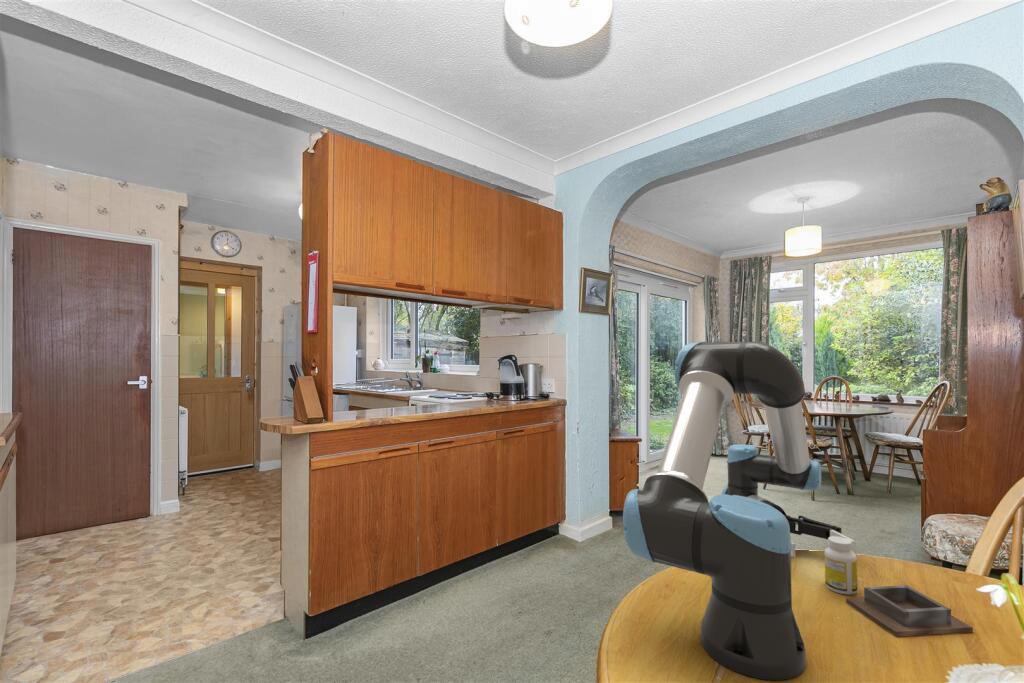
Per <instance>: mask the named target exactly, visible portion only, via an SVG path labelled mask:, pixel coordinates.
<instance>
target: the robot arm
mask: <svg viewBox="0 0 1024 683" xmlns="http://www.w3.org/2000/svg"><path fill="white" fill-rule="evenodd" d="M676 356H677V357H676V359H675V367H674V379H675V380H674V381H675V384H676V386H677V388H678V389H679V391H680V393H681V399H680V402H679V405H678V408H677V411H676V414H675V417H674V420H673V423H672V426H671V430H670V433H669V436H668V439H667V441H666V444H665V447H664V451H663V453H662V457H661V461H660V462H659V465H658V468H657V469H658V470H657V472H656V473H653V474H651V475H649V476H648V477H647V478H645V482H644V484H643V487H642V489H640V488H635V489H631V490H629V492H628V493H627V495H626V497H625V500H624V504H623V514H622V526H623V535H624V539H625V543H626V546H627V547H628V549H629V551H630V552H631V553H632V554H633V555H634V556H635V557H638V558H642V559H645V560H647V561H650V562H651V563H654V564H655V563H657V564H658V563H659V564H663V565H666V566H669V567H673V568H677V569H681V570H685V571H688V572H689V571H690V572H693V573H697V574H699V575H700V574H701V575H705V576H709V577H710V579H711V594H710V597H709V600H708V603H707V607H706V608H705V611H704V615H703V618H702V620H701V625H700V640H701V645H702V647H703V648H704V650H705V651H706V653H707V654H708V655H709V656H710V657H711V658H712V659H714V660H715V661H716V662H718V663H719V664H721V665H722V666H724V667H726V668H728V669H730V670H732V671H735V672H737V673H738V674H741V675H745V676H748V677H752V678H756V679H759V680H761V679H762V680H768V681H769V680H770V681H781V680H782V681H783V680H784V681H785V680H789V679H792V678H793V679H794V678H795V677H797V676H799V675H801V674H802V673H803V672H804V670H805V668H806V662H807V659H806V658H807V656H806V655H807V654H806V646H805V643H804V640H803V636H802V634H801V631H800V628H799V626H798V623H797V621H796V620H797V619H796V618H795V614H794V611H793V605H792V604H793V602H792V601H793V599H792V595H793V594H792V593H793V592H792V557H793V558H795V557H796V543H795V542H793V541H791V534H793V535H798V536H801V535H803V534H804V535H807V536H811V537H816V538H820V539H825V540H828V538H829V537H831V536H837V537H843V538H846V539H849V540H851V542H852V550H851V551H852V552H853V553H854V554H855V555H856V554H857V553H856V552H857V550H856V549H857V547H856V546H857V545H856V542H857V541H856V540H854V539H852V538H850V537H848V536H846V535H844V534H842V532H843V531H842V527H840V526H837V525H833V524H828V523H826V522H822V521H817V520H815V519H810V518H808V517H806V516H803V515H798V518H796V517H792V516H790V515H787V514H786V512H785V510H784V508H782V507H781V506H780V505H777V504H776V503H774V502H772V501H770V500H769V499H766V498H764V497H763V496H760V495H759V494H758V492H759V490H758V489H759V484H765V485H772V486H778V487H783V488H790V489H798V490H801V491H803V490H804V491H813V492H814V491H819V490H820V489H821V486H822V465H821V463H820V462H819V461H816V460H812V459H810V452H809V447H808V446H809V445H808V438H807V432H806V425H805V419H804V412H803V405H802V401H803V400H804V398H805V395H806V389H805V383H804V380H803V377H802V375H801V373H800V371H799V369H798V368H797V367H796V365H795V364H794V363H793V361H792V360H791V359H790V358H788V356H786V355H785V354H784V353H783V352H782V351H780V350H778V349H777V348H775V347H773V346H772V345H769V344H767V343H764V342H760V341H698V342H690V343H687V344H685V345H684V346H682V348H681V349H680V351H679V352H678V354H677V355H676ZM735 394H739V395H740V394H742V395H743V394H744V395H750V394H751V395H756V397H757V399H758V401H759V402H760V403H761V404H762V405H763V406H764V411H765V415H766V419H767V420H766V421H767V424H768V426H767V427H768V429H769V434H770V439H771V442H772V447H773V452H774V455H768V454H767V455H766V454H760V453H759V452H758V448H757V447H756V446H755V445H751V444H750V445H749V444H741V443H740V444H739V443H738V444H737V443H736V444H735V443H734V444H731V445H730V446H728V448H727V461H726V463H727V485H726V486H725V487H724V488H723V490H722V492H721V494H718V495H717V494H716V495H714V496H712V497H711V499H710V501H709V498H708V495H707V493H706V492H705V491H704V490H703V488H704V484H705V481H706V477H707V473H708V469H709V465H710V460H711V457H712V453H713V449H714V446H715V442H716V437H717V433H718V430H719V425H720V421H721V419H722V418H721V417H722V414H723V409H724V407H727V406H728V405H730V404H731V403H732V402H733V399H734V398H735ZM796 526H797V529H796Z"/></svg>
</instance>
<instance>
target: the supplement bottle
mask: <svg viewBox="0 0 1024 683" xmlns="http://www.w3.org/2000/svg"><path fill="white" fill-rule="evenodd" d="M827 544H828V547H826V548H825V549H824V579H825V580H824V581H825V586H826V588H827V589H829V590H830V591H832V592H835V593H837V594H841V595H849V596H850V595H855V594H857V593H858V559H857V558H858V557H857V555H856V554H854V553H853V552H852V551H851V550H852V542H851V540H849V539H846V538H843V537H837V536H831V537H829V538H828V539H827Z"/></svg>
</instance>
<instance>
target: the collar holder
mask: <svg viewBox="0 0 1024 683" xmlns="http://www.w3.org/2000/svg"><path fill="white" fill-rule="evenodd" d="M863 596H864V597H862V596H861V597H847V598H845V603H846V604H848V605H849V606H851V607H852V608H853V609H855V610H856V611H858V612H859V613H861V614H862V615H864V616H865V617H866V618H868V619H869V620H871V621H873V623H876V624H877V625H878V626H879V627H881V628H883V629H884V630H886V631H887V632H889V633H890V634H891V635H893V636H895V637H896V638H897V637H910V636H912V637H913V636H928V635H931V636H932V635H943V634H946V635H947V634H960V633H961V634H962V633H973V632H974V628H973V626H971V625H970V624H968V623H966V622H965V621H963V620H961V619H959V618H957V617H956V616H953V615H952V609H950V607H948V606H946V605H943V604H942V603H940V602H938V601H936V600H934V599H933V598H931V597H929V596H927V595H925V594H923V593H922V592H920V591H919V590H916V589H914V588H912V587H910V586H909V585H907V584H906V585H905V584H904V585H903V584H902V585H886V586H867V587H866V586H865V587H863Z"/></svg>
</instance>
